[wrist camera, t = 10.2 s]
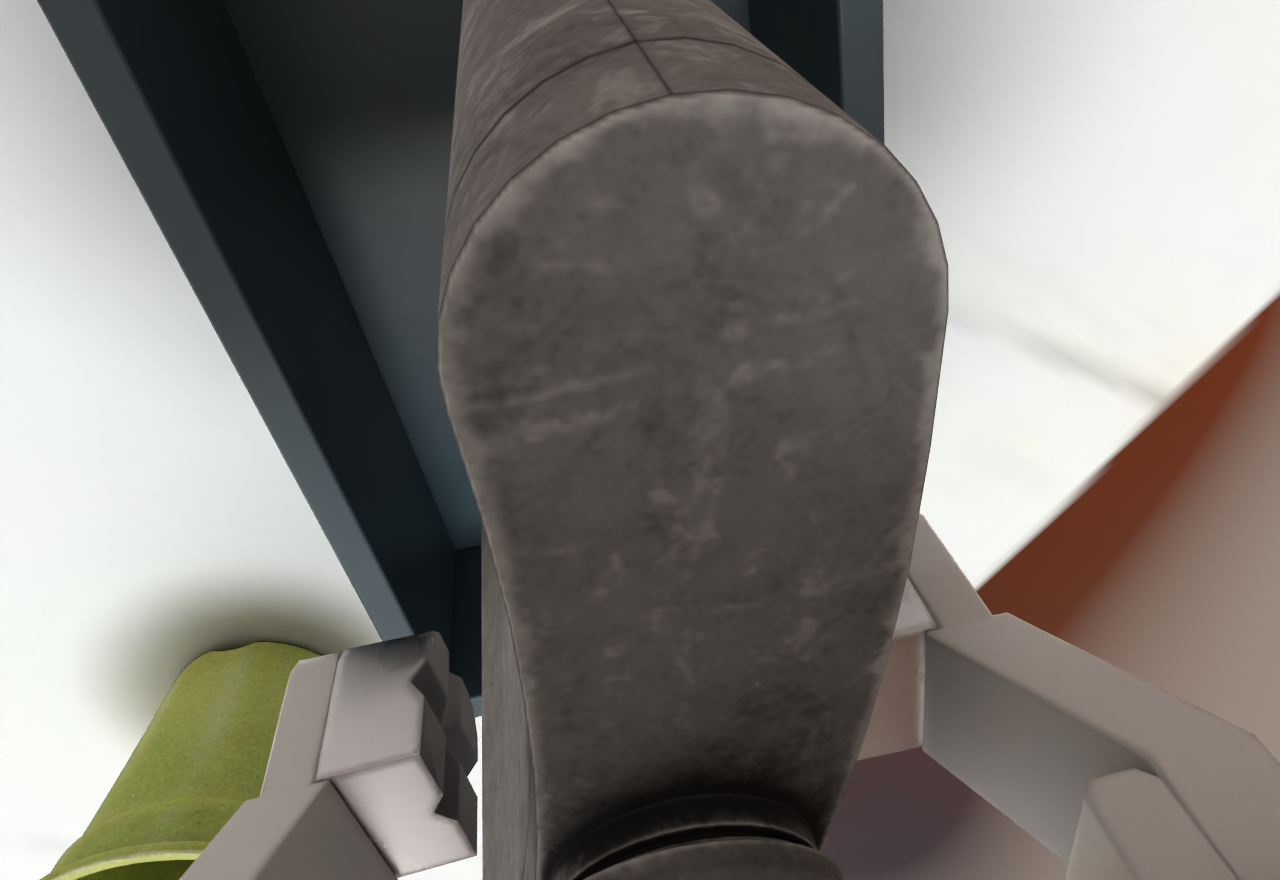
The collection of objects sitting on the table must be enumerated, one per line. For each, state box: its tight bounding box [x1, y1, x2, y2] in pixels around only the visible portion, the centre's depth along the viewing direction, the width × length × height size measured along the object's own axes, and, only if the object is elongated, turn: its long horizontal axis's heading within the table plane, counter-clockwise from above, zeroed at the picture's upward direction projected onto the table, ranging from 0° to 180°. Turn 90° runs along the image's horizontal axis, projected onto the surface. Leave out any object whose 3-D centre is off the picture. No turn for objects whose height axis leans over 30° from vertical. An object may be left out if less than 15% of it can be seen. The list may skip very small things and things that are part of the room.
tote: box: [37, 0, 884, 717], centre depth 19 cm, size 22×13×7 cm, turn 10°
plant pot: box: [40, 642, 320, 880], centre depth 26 cm, size 9×9×9 cm
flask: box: [436, 0, 948, 880], centre depth 13 cm, size 4×14×18 cm, turn 175°
